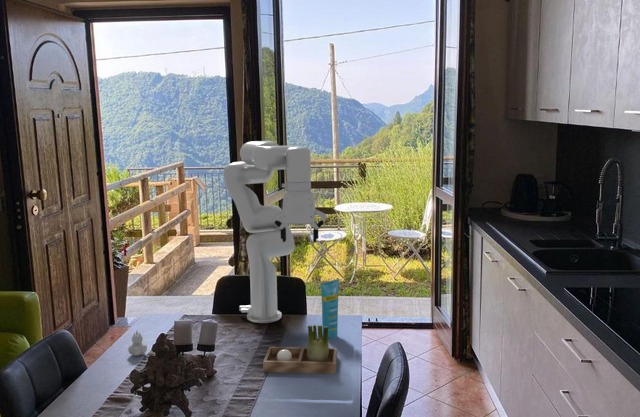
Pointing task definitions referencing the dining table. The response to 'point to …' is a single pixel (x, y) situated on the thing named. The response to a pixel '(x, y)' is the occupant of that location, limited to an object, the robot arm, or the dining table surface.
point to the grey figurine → (137, 345)
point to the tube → (330, 307)
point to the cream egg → (284, 355)
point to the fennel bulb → (317, 344)
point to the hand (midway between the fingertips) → (299, 241)
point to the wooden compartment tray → (299, 361)
